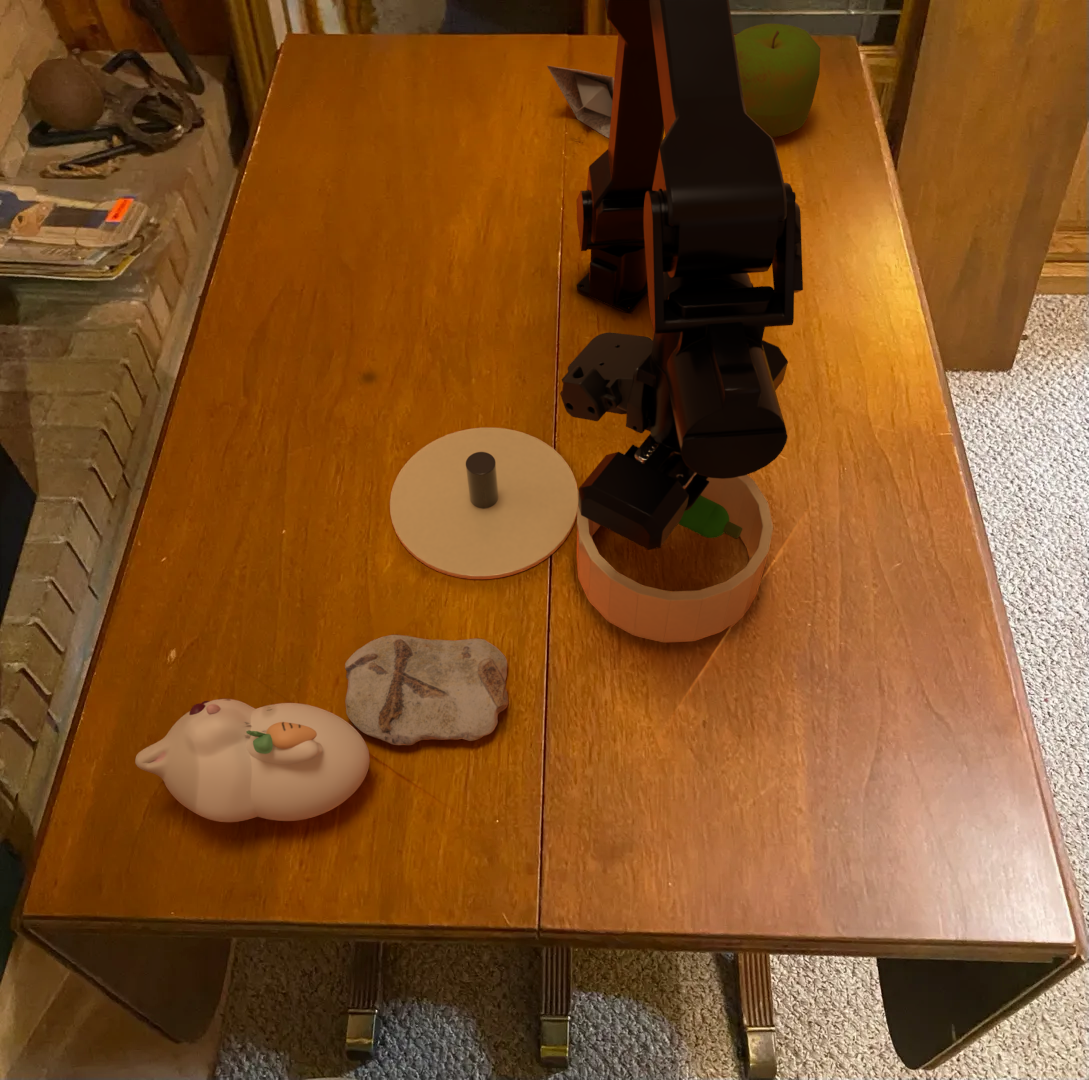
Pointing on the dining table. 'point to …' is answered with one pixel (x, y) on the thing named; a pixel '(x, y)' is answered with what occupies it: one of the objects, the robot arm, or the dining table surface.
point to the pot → (682, 610)
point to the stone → (426, 689)
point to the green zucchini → (709, 519)
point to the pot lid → (484, 503)
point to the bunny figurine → (258, 761)
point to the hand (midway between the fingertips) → (676, 505)
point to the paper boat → (587, 96)
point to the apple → (777, 75)
